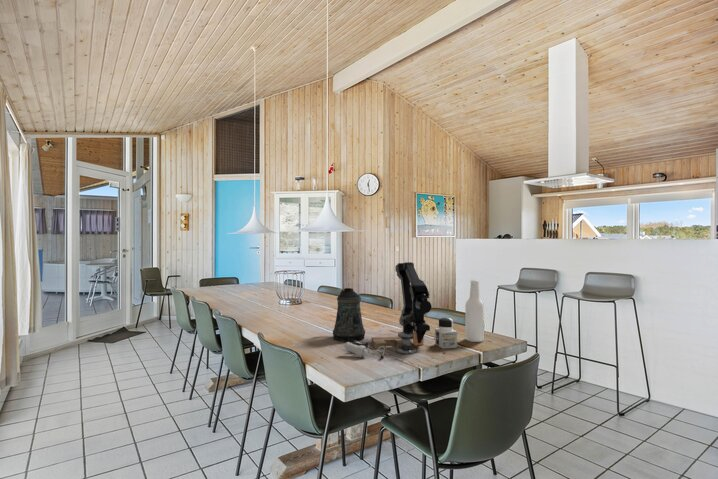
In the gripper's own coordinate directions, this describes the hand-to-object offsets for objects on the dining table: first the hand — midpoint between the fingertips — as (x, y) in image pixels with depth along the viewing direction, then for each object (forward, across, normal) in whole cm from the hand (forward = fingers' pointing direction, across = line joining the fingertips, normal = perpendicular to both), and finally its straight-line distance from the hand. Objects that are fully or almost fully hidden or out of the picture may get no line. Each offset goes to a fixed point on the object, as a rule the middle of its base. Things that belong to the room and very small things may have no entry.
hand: (418, 341), depth 191 cm
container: (+1, +5, +12) cm, 13 cm away
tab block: (+1, 0, 0) cm, 1 cm away
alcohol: (+1, -4, +30) cm, 30 cm away
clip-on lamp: (+1, +16, -28) cm, 32 cm away
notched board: (+1, 0, -14) cm, 14 cm away
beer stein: (+1, -16, -33) cm, 37 cm away
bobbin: (+1, +12, -9) cm, 15 cm away
